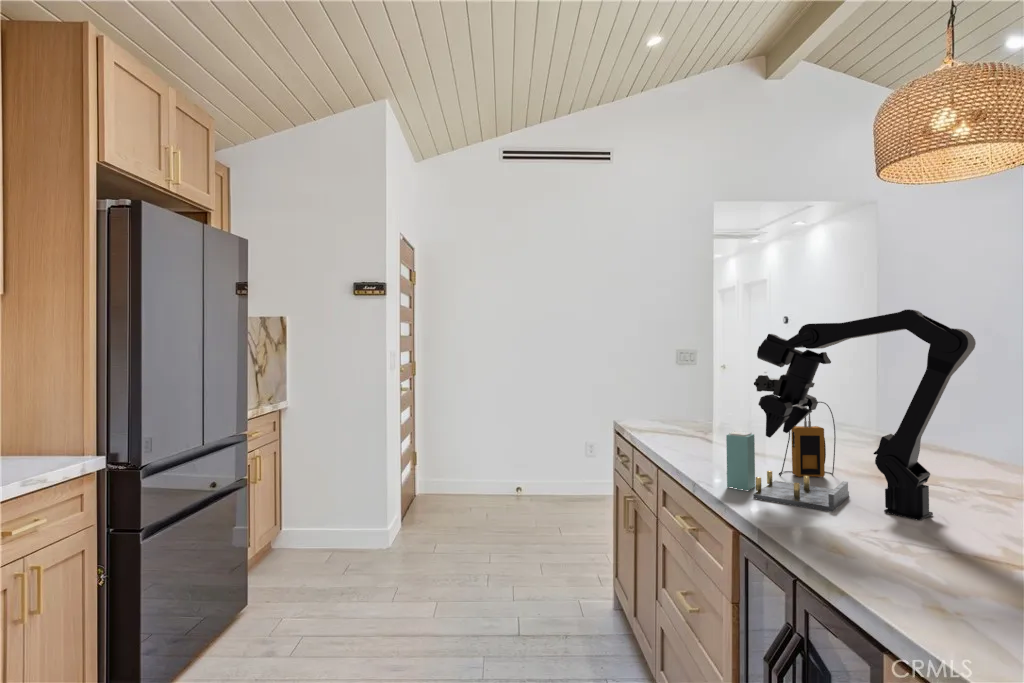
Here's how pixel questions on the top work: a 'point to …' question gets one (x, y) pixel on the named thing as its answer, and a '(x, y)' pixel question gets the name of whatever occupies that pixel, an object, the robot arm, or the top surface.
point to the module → (740, 460)
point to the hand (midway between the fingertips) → (776, 434)
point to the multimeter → (808, 450)
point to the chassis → (802, 493)
